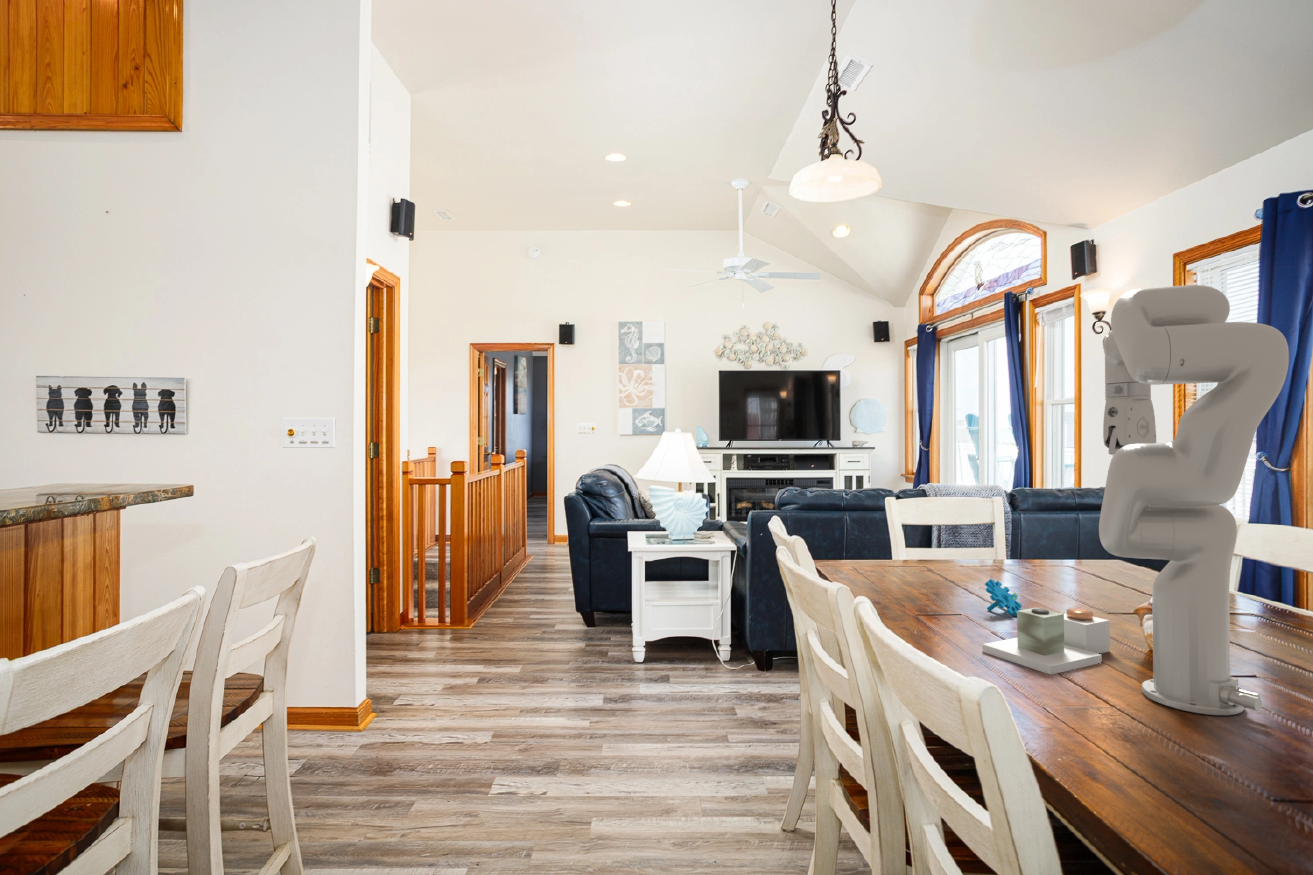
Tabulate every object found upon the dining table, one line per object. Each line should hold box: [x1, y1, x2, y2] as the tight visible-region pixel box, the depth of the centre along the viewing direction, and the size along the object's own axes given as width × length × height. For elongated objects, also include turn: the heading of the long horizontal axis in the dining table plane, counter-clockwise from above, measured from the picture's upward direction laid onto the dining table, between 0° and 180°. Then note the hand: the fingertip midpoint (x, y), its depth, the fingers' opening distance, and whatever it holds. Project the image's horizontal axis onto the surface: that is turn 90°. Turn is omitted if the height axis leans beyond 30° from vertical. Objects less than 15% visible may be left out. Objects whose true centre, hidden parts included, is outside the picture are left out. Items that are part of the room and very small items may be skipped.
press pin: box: [1066, 608, 1094, 621], centre depth 131 cm, size 4×4×6 cm
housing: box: [1016, 607, 1065, 656], centre depth 126 cm, size 6×6×7 cm
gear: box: [984, 578, 1023, 618], centre depth 159 cm, size 11×6×10 cm
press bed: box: [982, 612, 1111, 675], centre depth 128 cm, size 14×22×6 cm, turn 114°
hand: (1128, 483), depth 134 cm, fingers closed
